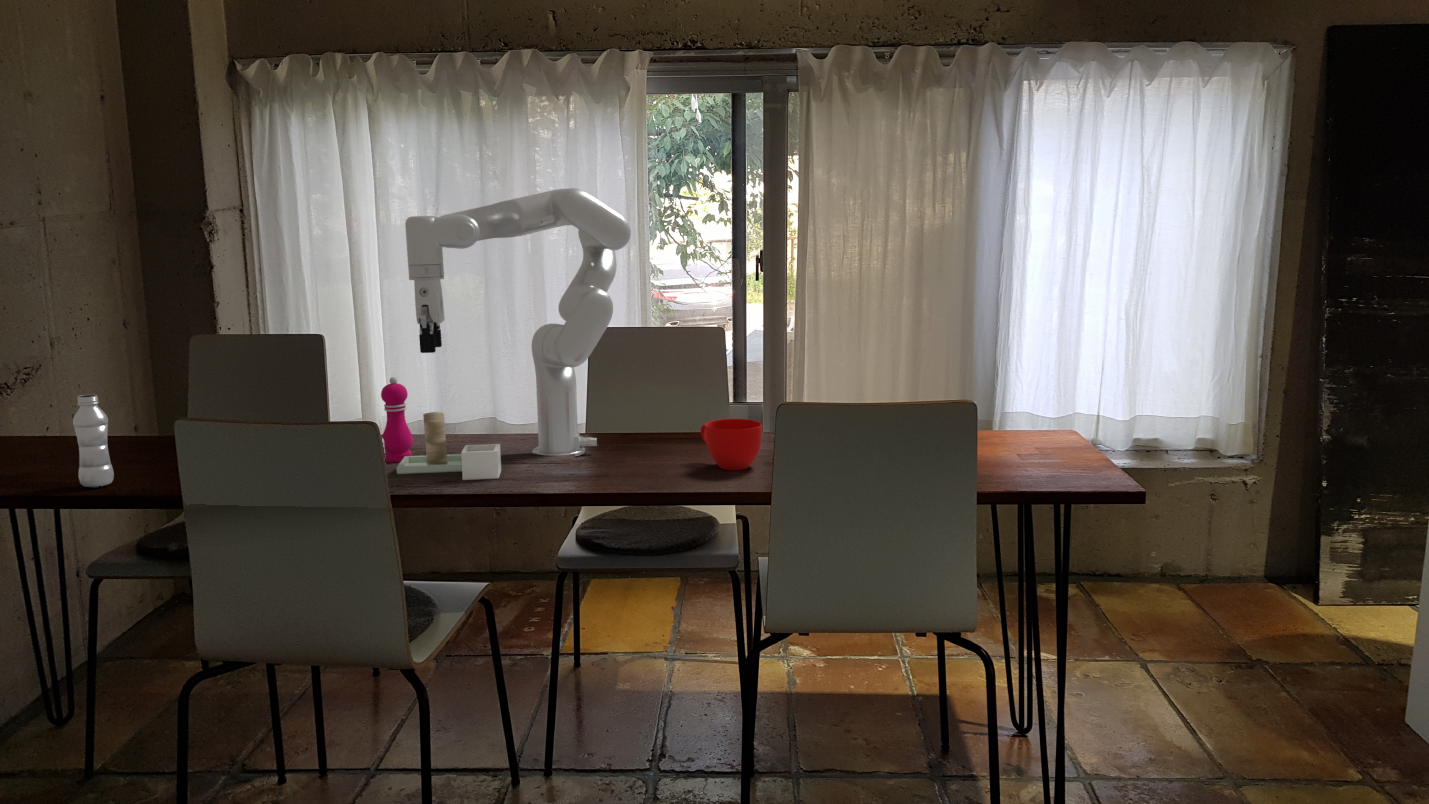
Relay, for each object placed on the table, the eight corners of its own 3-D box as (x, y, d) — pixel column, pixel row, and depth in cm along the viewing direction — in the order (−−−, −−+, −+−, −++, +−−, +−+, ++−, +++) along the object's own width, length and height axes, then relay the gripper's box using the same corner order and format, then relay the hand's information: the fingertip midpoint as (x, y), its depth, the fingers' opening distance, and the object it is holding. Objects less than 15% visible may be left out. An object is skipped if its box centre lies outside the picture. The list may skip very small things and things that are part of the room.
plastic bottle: (88, 483, 231) (78, 393, 227) (120, 482, 231) (110, 393, 228) (73, 490, 225) (62, 398, 221) (106, 489, 225) (96, 398, 222)
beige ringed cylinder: (448, 462, 241) (445, 411, 239) (446, 467, 237) (442, 415, 234) (428, 463, 240) (424, 412, 238) (425, 468, 236) (421, 416, 234)
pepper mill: (405, 463, 246) (399, 379, 243) (377, 462, 248) (371, 378, 244) (419, 456, 253) (414, 375, 250) (392, 455, 255) (386, 374, 251)
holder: (501, 474, 235) (500, 443, 234) (498, 482, 227) (497, 451, 226) (466, 475, 234) (465, 445, 233) (462, 484, 226) (461, 452, 225)
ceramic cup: (721, 455, 251) (721, 414, 249) (774, 466, 239) (774, 423, 238) (682, 464, 242) (681, 422, 240) (734, 476, 230) (734, 432, 229)
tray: (475, 464, 245) (475, 453, 244) (470, 475, 234) (470, 464, 234) (405, 466, 243) (405, 456, 243) (397, 478, 232) (396, 467, 232)
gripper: (438, 274, 223) (443, 354, 226) (448, 270, 240) (453, 344, 243) (401, 275, 222) (407, 355, 225) (415, 271, 239) (420, 345, 242)
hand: (431, 349), depth 234 cm, fingers open, 9 cm apart
